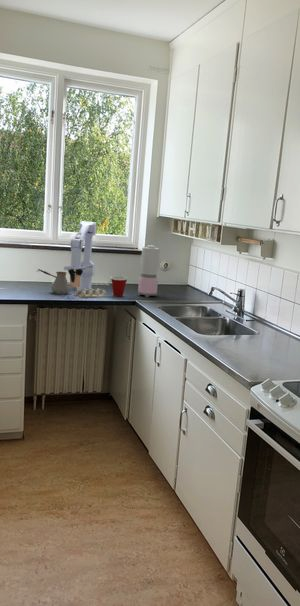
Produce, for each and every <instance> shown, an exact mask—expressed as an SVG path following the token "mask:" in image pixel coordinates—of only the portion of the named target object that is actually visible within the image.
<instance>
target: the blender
mask: <svg viewBox="0 0 300 606" xmlns="http://www.w3.org/2000/svg"><path fill="white" fill-rule="evenodd" d="M159 262H160V248H158V247H156V246H155V245H148V244H147V245H146V246H142V248H141V255H140V269H141V270H140V271H141V274H140V276H139V278H138V286H137V287H138V288H137V295H138V296H139V297H140V296H141V295H143V296H145V298H149V297H150V296H155V297H157V293H158V283H159V282H158V281H159V280H158V278H157V272H158V268H159V264H160V263H159Z"/></svg>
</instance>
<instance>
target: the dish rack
mask: <svg viewBox="0 0 300 606" xmlns="http://www.w3.org/2000/svg"><path fill="white" fill-rule="evenodd" d="M74 296H77V297H79V298H82V299H90V298H107V297H108V294H107V290H104V289H102V288H101V289H100V288H96V289H94V288H92V287H91V288H90V290H86V289H83V290H80V289H77V288H76V290H75V292H74Z"/></svg>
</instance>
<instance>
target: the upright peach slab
mask: <svg viewBox="0 0 300 606" xmlns="http://www.w3.org/2000/svg"><path fill="white" fill-rule="evenodd" d="M69 286H71V287H74V288H76V289H77V287H80V275H77V274H76V273H75V277H74V282H71V277H70V276H69Z"/></svg>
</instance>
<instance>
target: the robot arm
mask: <svg viewBox="0 0 300 606" xmlns="http://www.w3.org/2000/svg"><path fill="white" fill-rule="evenodd" d="M78 228H79V231H78V232H76V234H75V236H74V237H73V238H72V239H70V251H71V254H70V255H71V257H70V265H69V266H68V265H67V266H63V270H64V271H68V272H67V273H68V274H69V278H70V277H71V282H74V277H75V274H77V275H80V287H77V288H76V289H79V290H82V291H83V289H86V290H89V291H90V288H91V289H92V282H93V281H92V280H93V277H94V275H95V273H96V267H95V266H96V264H95V263H94V262H93V261H92V248H93V247H92V246H93V239H94V236H96V234H97V223H96V222H95V221H83V220H80V221H79V225H78ZM83 247H84V248H83ZM82 250H83V260H82Z"/></svg>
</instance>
